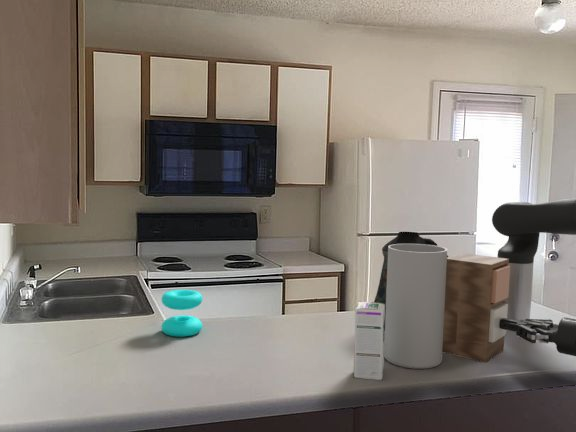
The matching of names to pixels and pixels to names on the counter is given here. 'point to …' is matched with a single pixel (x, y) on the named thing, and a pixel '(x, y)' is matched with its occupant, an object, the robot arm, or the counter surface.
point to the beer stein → (400, 239)
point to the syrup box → (369, 340)
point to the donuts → (182, 323)
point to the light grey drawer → (497, 321)
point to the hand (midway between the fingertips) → (500, 322)
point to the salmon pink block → (500, 283)
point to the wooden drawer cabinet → (470, 307)
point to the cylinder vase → (415, 305)
